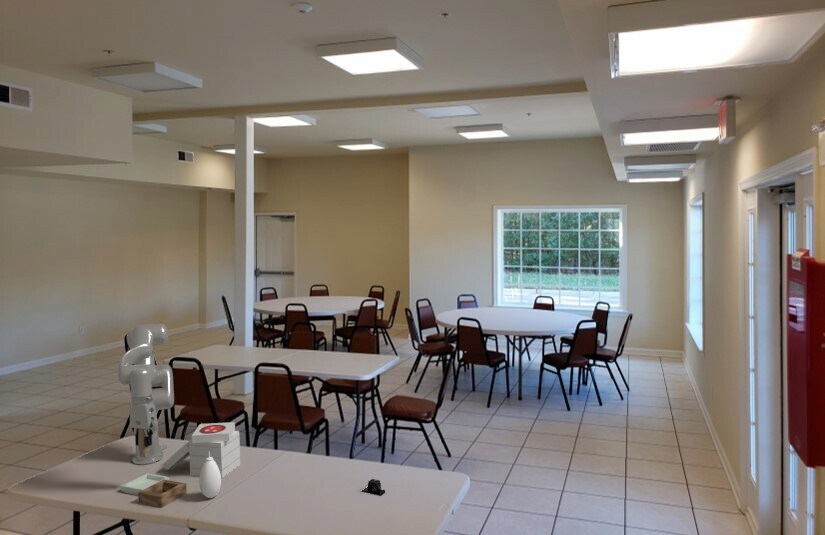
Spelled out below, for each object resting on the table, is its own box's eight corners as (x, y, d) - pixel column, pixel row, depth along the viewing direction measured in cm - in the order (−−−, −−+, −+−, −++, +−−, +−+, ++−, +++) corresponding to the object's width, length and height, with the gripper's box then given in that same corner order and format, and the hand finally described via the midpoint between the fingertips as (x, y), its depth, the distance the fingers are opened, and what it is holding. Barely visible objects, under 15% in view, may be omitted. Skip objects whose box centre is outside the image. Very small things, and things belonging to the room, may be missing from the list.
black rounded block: (392, 492, 229) (392, 480, 229) (382, 499, 223) (382, 487, 223) (366, 485, 235) (365, 474, 235) (355, 493, 229) (355, 481, 229)
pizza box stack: (186, 458, 267) (184, 419, 266) (247, 463, 260) (245, 422, 259) (159, 475, 248) (157, 433, 247) (223, 480, 241) (222, 437, 240)
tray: (147, 479, 245) (147, 473, 245) (169, 483, 240) (169, 477, 240) (121, 492, 233) (120, 485, 233) (144, 496, 228) (143, 490, 228)
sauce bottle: (202, 503, 221) (200, 456, 220) (198, 496, 228) (196, 450, 227) (224, 498, 225) (222, 452, 224) (218, 491, 232) (217, 445, 231)
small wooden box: (164, 489, 234) (163, 479, 234) (186, 493, 230) (186, 483, 230) (138, 502, 223) (138, 492, 223) (161, 507, 219) (161, 497, 218)
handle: (145, 459, 232) (143, 421, 231) (133, 457, 235) (131, 420, 234) (155, 455, 236) (153, 418, 236) (143, 453, 239) (141, 416, 238)
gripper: (165, 398, 235) (167, 444, 236) (133, 395, 241) (135, 439, 242) (150, 404, 228) (152, 450, 229) (118, 400, 234) (120, 445, 235)
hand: (143, 444), depth 235 cm, fingers closed on handle, 4 cm apart
